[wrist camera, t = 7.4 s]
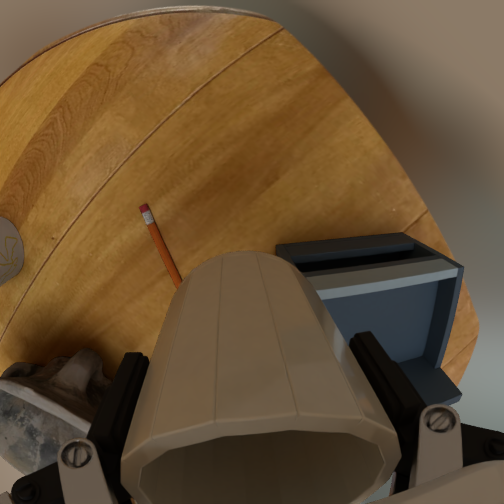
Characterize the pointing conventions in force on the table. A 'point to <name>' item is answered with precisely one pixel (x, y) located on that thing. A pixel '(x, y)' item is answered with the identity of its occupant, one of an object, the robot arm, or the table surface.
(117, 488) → the robot arm
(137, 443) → the cream cup
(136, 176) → the table surface
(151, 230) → the pencil
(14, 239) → the cup
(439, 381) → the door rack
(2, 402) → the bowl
